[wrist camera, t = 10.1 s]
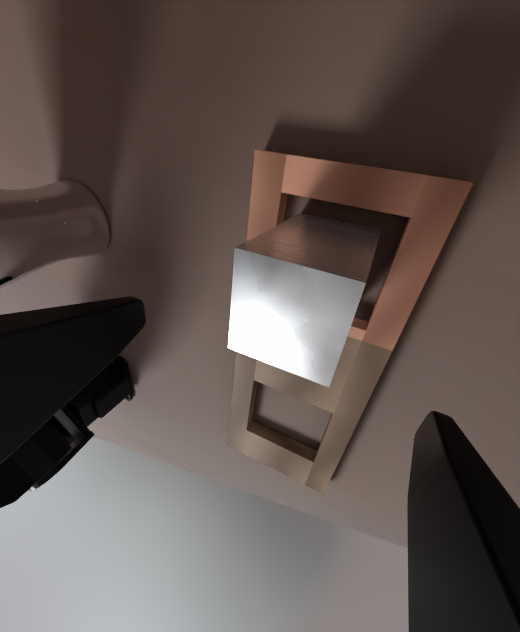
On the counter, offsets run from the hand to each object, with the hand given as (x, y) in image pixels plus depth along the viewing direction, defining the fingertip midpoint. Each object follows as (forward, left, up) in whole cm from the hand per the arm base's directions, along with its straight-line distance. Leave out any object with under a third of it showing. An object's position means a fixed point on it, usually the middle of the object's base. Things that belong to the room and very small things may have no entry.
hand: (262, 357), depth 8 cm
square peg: (0, 0, -10) cm, 10 cm away
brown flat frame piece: (0, -8, -10) cm, 13 cm away
